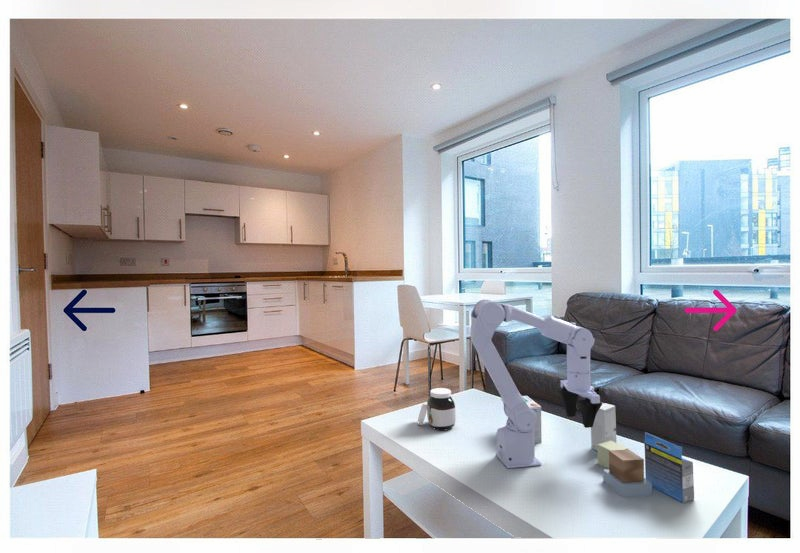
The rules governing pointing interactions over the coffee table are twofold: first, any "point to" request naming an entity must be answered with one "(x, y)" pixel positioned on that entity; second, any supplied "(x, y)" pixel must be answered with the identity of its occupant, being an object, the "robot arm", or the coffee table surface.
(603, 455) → the olive cube
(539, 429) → the light bulb box
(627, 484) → the base slab
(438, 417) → the spread jar
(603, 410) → the skincare box
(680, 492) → the label tape box
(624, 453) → the walnut cube
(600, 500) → the coffee table surface
